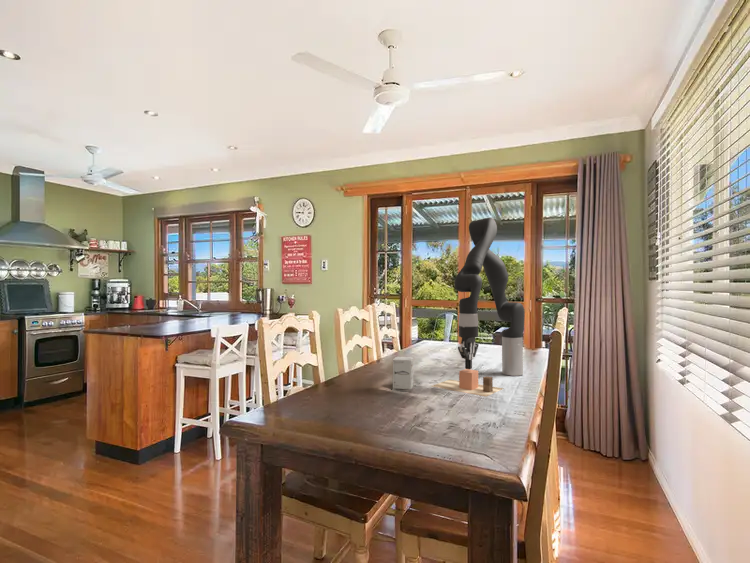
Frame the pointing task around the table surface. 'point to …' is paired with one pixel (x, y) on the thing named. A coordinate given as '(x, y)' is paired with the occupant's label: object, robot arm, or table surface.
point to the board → (455, 387)
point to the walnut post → (488, 384)
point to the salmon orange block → (468, 379)
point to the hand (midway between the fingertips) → (468, 368)
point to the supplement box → (402, 373)
